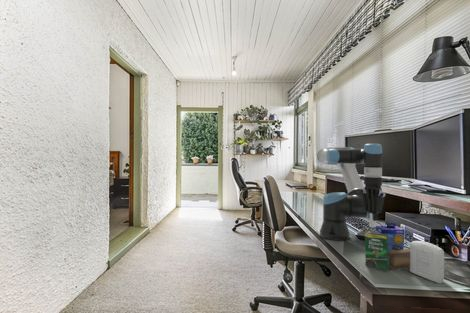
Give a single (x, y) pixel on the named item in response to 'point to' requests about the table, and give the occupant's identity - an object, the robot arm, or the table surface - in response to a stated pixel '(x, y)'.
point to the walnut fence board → (399, 259)
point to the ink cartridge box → (392, 236)
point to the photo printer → (427, 261)
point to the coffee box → (376, 250)
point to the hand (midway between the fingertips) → (373, 226)
